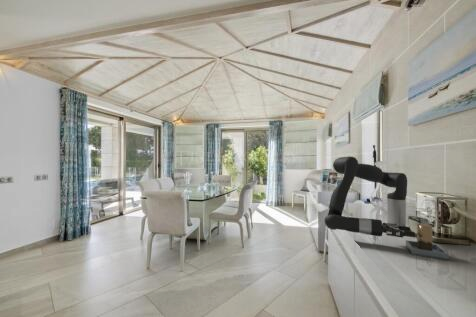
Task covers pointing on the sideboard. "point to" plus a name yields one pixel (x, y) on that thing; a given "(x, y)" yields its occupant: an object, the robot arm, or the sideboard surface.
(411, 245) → the tray
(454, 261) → the sideboard surface
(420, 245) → the bronze can
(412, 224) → the food container
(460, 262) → the sideboard surface
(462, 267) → the sideboard surface
